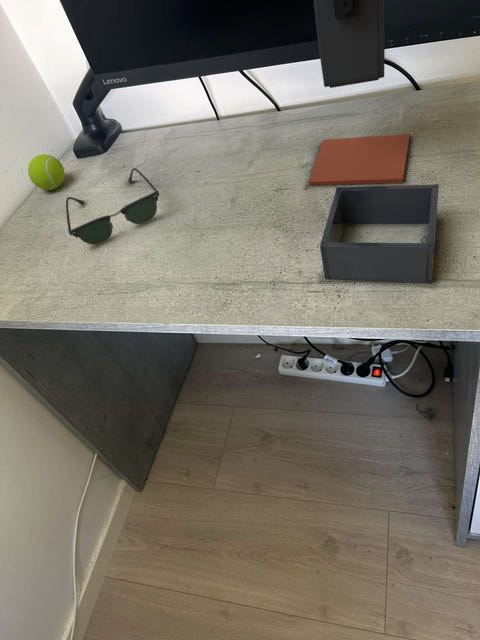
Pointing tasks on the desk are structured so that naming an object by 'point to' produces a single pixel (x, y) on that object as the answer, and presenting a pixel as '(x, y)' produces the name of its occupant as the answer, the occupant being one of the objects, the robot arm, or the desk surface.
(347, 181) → the mat
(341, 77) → the card reader
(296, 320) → the desk surface
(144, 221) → the sunglasses
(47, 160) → the tennis ball
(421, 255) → the grey open bin
